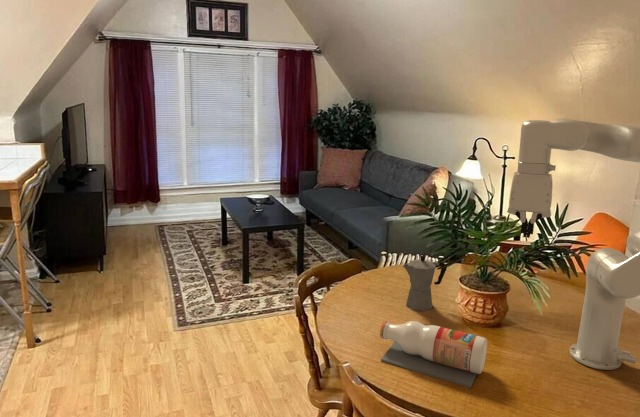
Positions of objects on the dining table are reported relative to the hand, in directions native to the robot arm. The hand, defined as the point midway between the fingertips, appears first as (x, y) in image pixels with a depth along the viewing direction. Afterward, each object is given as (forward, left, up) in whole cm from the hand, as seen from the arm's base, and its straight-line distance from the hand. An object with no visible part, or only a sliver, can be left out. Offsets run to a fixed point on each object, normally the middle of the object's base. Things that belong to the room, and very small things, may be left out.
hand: (526, 236), depth 130 cm
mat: (+18, +16, -34) cm, 42 cm away
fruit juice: (+5, +17, -29) cm, 34 cm away
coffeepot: (+31, -16, -34) cm, 49 cm away
